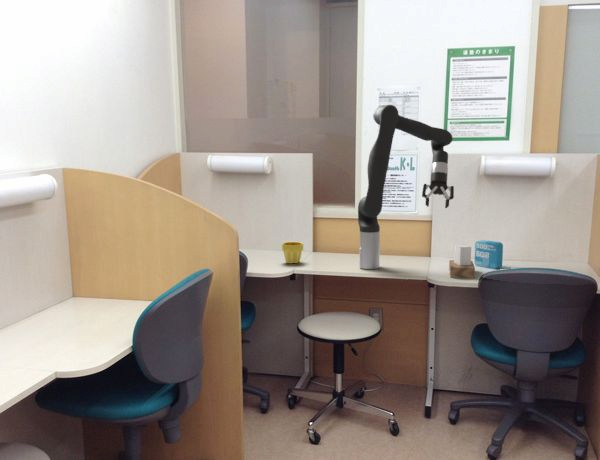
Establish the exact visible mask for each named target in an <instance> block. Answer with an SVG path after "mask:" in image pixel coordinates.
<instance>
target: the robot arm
mask: <svg viewBox="0 0 600 460" xmlns="http://www.w3.org/2000/svg"><path fill="white" fill-rule="evenodd" d="M372 117H373V120H374V122H375V123H376V124H377V125H379V129H378V134H377V137H376V140H375V141H374V143H373V145H372V147H371V150H370V152H369V155H368V162H367V181H368V187H367V191H366V196H364V197H362V198H361V199H359V202H358V205H357V216H358V217H357V219H358V227H359V269H365V270H377V269H379V268H380V264H381V263H380V249H381V248H380V247H381V246H380V239H381V238H380V236H381V235H380V229H381V228H380V224H379V222H378V216H379V215H380V213H381V212H382V209H383V201H384V200H383V197H384V188H385V183H386V179H387V172H388V169H389V163H390V157H391V152H392V145H393V140H394V139H393V138H394V135H395V132H396V130H398V131H402V132H404V133H406V134H409V135H411V136H413V137H415V138H418V139H420V140H423V141H427V142H428V141H430V146H431V153H432V165H431V169H430V170H431V171H430V183H429V184H427V183H423V187H422V192H421V193H422V195H421V197H422V198H425V203H424V204H425V206H426V207H427V208H428V207H429V206H430V197H431V196H432V195H436V196H437V195H439V196H441V195H442V196H443V197H444V198H445V203H444V204H445V205H444V206H445V209H447V208H449V206H450V201H451V200H453V199H454V198H455V197H454V195H455V194H454V190H455V189H454V188H455V187H454V185H451V186H449V185H448V172H449V171H448V170H449V168H448V167H449V166H448V162H449V153H448V152H447V151H446V150H444V147H446V146H449V145H450V144H451V143H453V134H452V133H451V132H450V131H449V130H446V129H444V128H440V127H435V126H431V125H429V124H426V123H424V122H422V121H418V120H415V119H411V118H407V117H405V116H402V115H399V109H398V108H397V107H396V106H395V105H392V104H384V105H379V106H377V107H376V108H375V109H374V110H373V114H372ZM428 188H429V190H430V191H429V193H428V194H426V192H427V190H428ZM447 190H448V191H449V195H448V193H447V192H446V191H447Z"/></svg>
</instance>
